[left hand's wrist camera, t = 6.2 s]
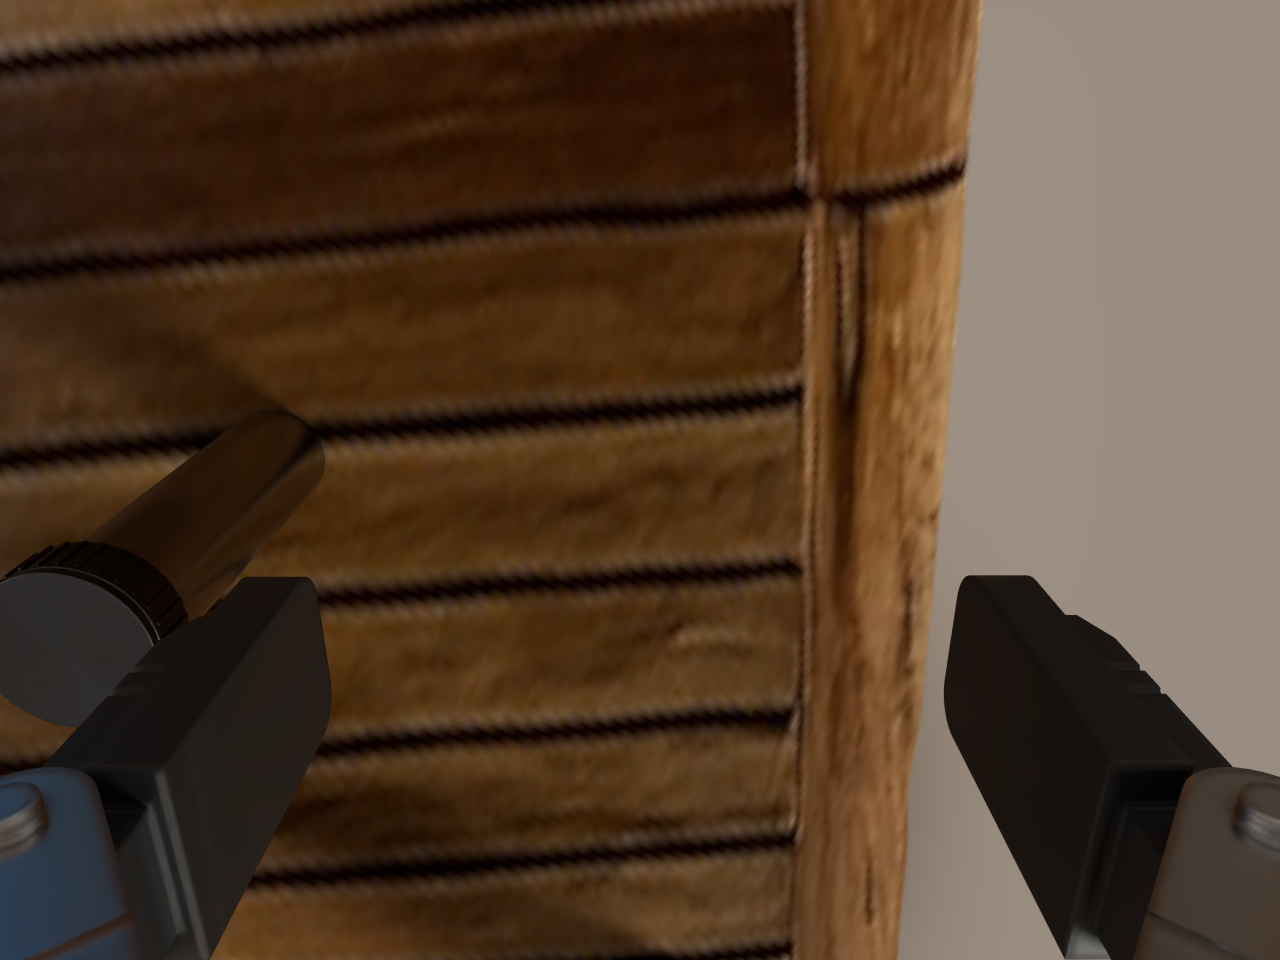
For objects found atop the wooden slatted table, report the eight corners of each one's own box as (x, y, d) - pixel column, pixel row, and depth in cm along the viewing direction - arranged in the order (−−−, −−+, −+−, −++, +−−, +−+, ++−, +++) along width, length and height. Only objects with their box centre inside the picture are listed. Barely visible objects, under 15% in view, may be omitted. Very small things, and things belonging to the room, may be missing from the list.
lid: (179, 541, 27) (144, 574, 25) (203, 693, 29) (172, 734, 27) (-4, 534, 27) (-53, 566, 25) (34, 686, 29) (-10, 727, 27)
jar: (320, 412, 41) (137, 582, 26) (328, 503, 42) (161, 710, 28) (221, 408, 41) (-20, 575, 26) (233, 498, 42) (13, 704, 28)
